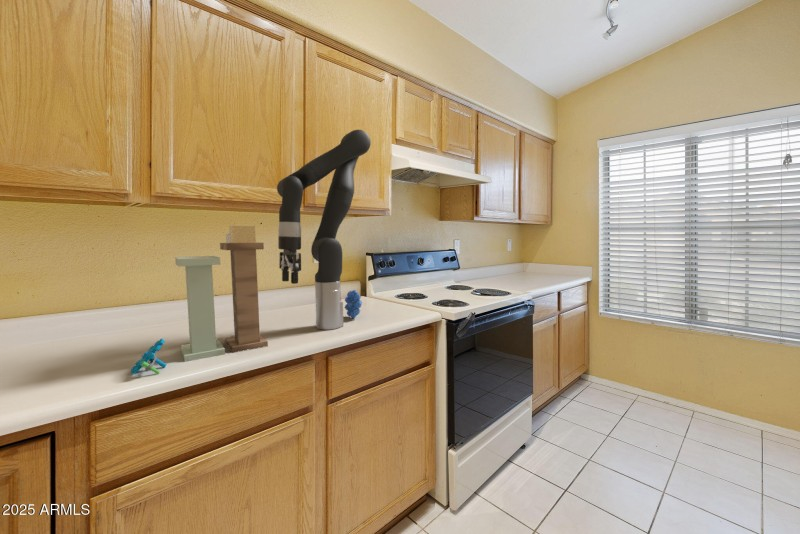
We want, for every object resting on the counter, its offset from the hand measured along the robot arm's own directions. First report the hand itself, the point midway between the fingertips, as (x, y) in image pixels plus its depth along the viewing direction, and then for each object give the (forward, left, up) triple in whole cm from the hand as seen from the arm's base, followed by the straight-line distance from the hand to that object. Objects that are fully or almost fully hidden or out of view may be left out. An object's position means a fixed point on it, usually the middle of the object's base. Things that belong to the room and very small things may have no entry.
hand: (289, 282), depth 121 cm
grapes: (-29, -7, -18) cm, 35 cm away
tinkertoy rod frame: (+41, +13, -18) cm, 47 cm away
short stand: (+28, +4, -18) cm, 34 cm away
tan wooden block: (+16, -1, +14) cm, 21 cm away
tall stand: (+16, +4, -18) cm, 24 cm away
